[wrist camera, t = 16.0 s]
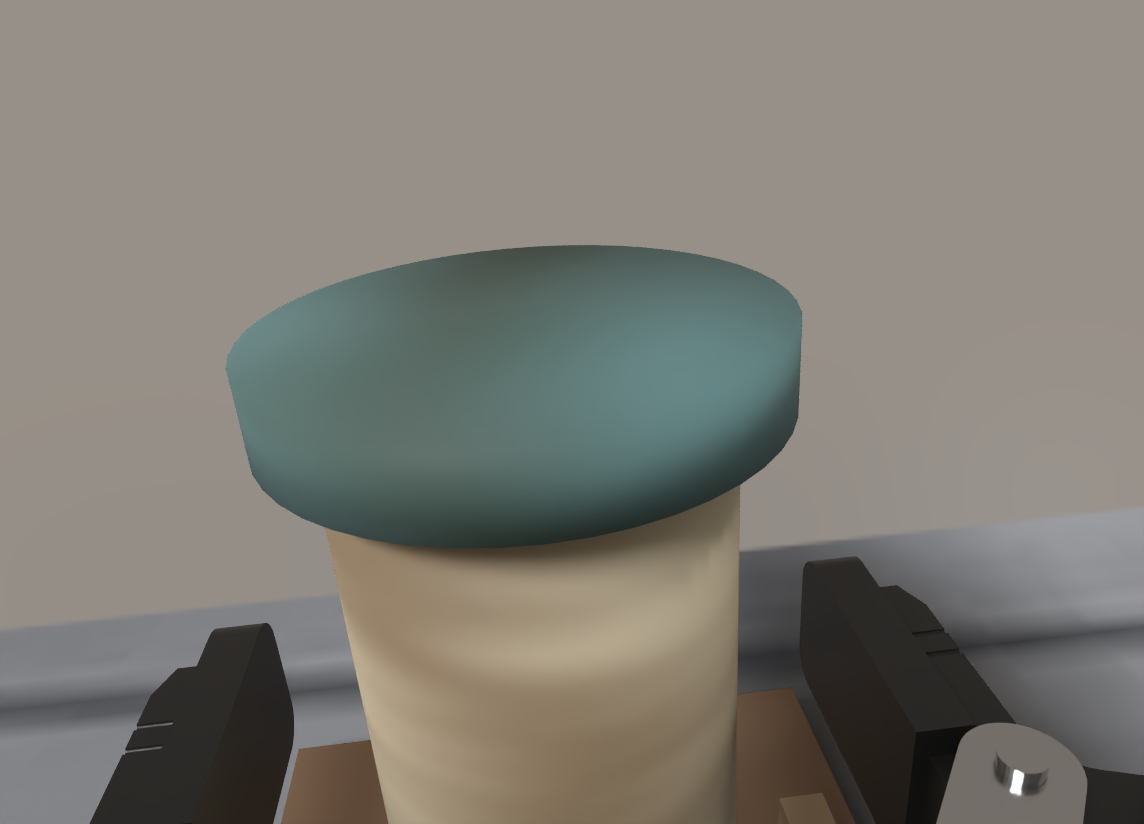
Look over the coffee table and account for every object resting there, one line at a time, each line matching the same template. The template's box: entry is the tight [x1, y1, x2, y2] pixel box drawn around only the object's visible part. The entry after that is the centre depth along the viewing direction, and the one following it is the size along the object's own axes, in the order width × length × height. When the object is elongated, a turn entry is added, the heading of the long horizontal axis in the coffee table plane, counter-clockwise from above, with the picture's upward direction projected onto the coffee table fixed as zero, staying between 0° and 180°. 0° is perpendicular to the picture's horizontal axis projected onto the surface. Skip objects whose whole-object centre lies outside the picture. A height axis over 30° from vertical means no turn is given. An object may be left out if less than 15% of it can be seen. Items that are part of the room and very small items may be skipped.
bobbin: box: [226, 245, 802, 824], centre depth 13 cm, size 7×7×15 cm
